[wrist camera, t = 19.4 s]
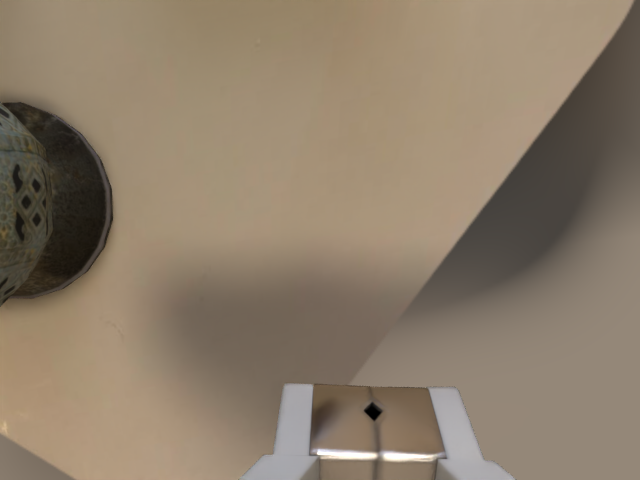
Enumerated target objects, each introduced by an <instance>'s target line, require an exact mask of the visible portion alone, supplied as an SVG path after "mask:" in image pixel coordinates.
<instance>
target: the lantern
mask: <svg viewBox="0 0 640 480" xmlns="http://www.w3.org/2000/svg"><path fill="white" fill-rule="evenodd" d="M112 220H113V214H112V189H111V186H110V183H109V180H108V178H107V175H106V172H105V169H104V167H103V164H102V161H101V159H100V158H99V156H98V155H97V154H96V152H95V151H94V150H93V148H92V147H91V146H90V144H89V143H88V142H87V140H86V139H85V138H84V137H83V135H82V134H81V133H79V132H78V131H77V130H75V129H74V128H72V127H71V126H70V125H68V124H67V123H65V122H64V121H63V120H61V119H60V118H59V117H57V116H56V115H53V114H50V113H48V112H45V111H42V110H40V109H37V108H35V107H32V106H29V105H27V104H24V103H21V102H18V103H1V102H0V306H1V305H2V304H3V303H4V302H5V301H6V300H7V299H8V298H35V297H38V296H41V295H44V294H48V293H51V292H54V291H57V290H60V289H63V288H65V287H66V286H68V285H69V284H70V283H72V282H73V281H75V280H76V279H77V278H79V277H80V276H81V275H83V274H84V273H86V272H87V271H88V270H89V268H90V267H91V266H92V264H93V263H94V261H95V260H96V259H97V257H98V256H99V254H100V253H101V251H102V250H103V249H104V247H105V244H106V240H107V237H108V233H109V230H110V226H111V223H112Z"/></svg>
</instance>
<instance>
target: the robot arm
mask: <svg viewBox="0 0 640 480" xmlns="http://www.w3.org/2000/svg"><path fill="white" fill-rule="evenodd" d="M238 480H516V479H515V478H514V477H513V476H511V475H510V474H509V473H508V472H507V471H505V470H504V469H503V468H502V467H501V466H499V465H498V464H497V463H496V462H495V461H486V460H484V458H483V455H482V452H481V449H480V447H479V444H478V441H477V439H476V436H475V433H474V430H473V428H472V425H471V422H470V420H469V417H468V414H467V411H466V408H465V406H464V403H463V400H462V398H461V395H460V392H459V390H458V389H457V388H456V387H426V388H414V387H411V388H410V387H370V386H369V387H368V386H350V385H328V384H314V387H313V385H312V384H297V383H285V385H284V387H283V390H282V396H281V403H280V409H279V416H278V423H277V429H276V436H275V443H274V449H273V455H263V456H262V457H261V458H260V459H259V460H258V461H257V462H256V463H255V464H254V465H253V466H252V467H251V468H250V469H249V470H248V471H247V472H246V473H245V474H244V475H243V476H242V477H241V478H239V479H238Z"/></svg>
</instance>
